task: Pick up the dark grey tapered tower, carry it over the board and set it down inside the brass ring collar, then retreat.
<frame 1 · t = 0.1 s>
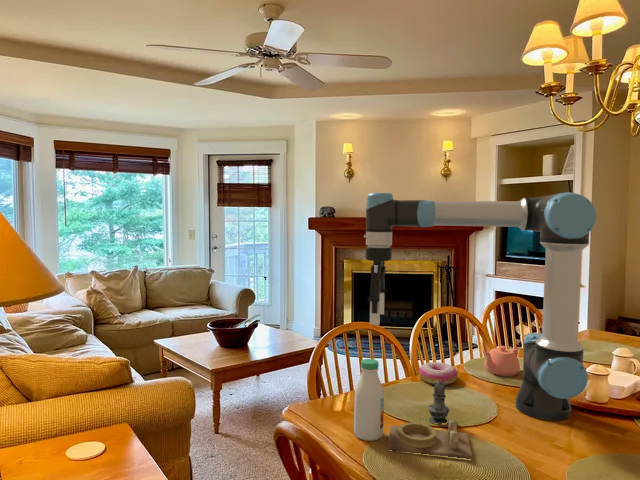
hand: (377, 319, 138), 28 cm above the table, fingers open, 13 cm apart
dark grey tapered tower: (438, 421, 135), on the table
board: (428, 444, 121), on the table
donut: (437, 380, 168), on the table
teapot: (500, 372, 176), on the table
milk bottle: (368, 435, 126), on the table
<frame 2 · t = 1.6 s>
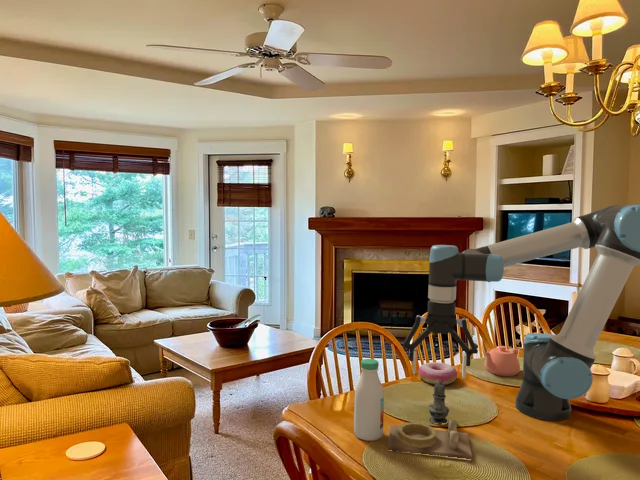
hand: (438, 374, 134), 13 cm above the table, fingers open, 13 cm apart
nothing on the table moved.
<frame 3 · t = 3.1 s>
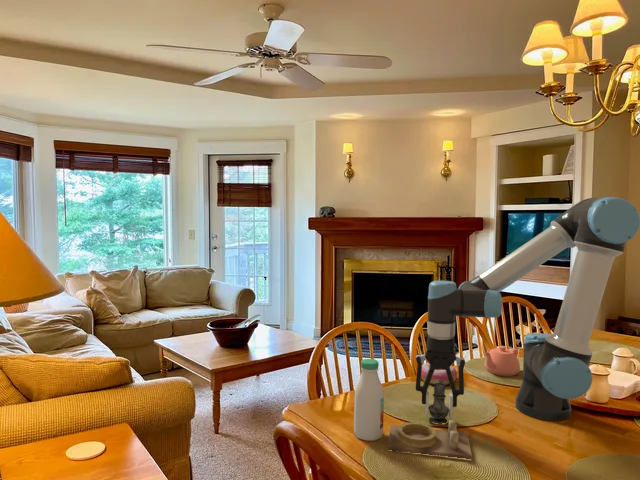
hand: (438, 416, 134), 1 cm above the table, fingers closed on dark grey tapered tower, 6 cm apart
dark grey tapered tower: (438, 421, 135), on the table, touching gripper
everything else where it was.
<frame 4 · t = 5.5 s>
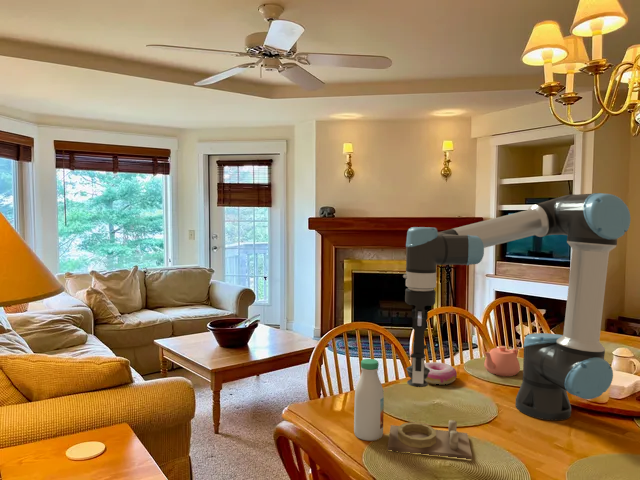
hand: (417, 378, 121), 17 cm above the table, fingers closed on dark grey tapered tower, 6 cm apart
dark grey tapered tower: (417, 384, 121), point 15 cm above the table, touching gripper
everything else where it was.
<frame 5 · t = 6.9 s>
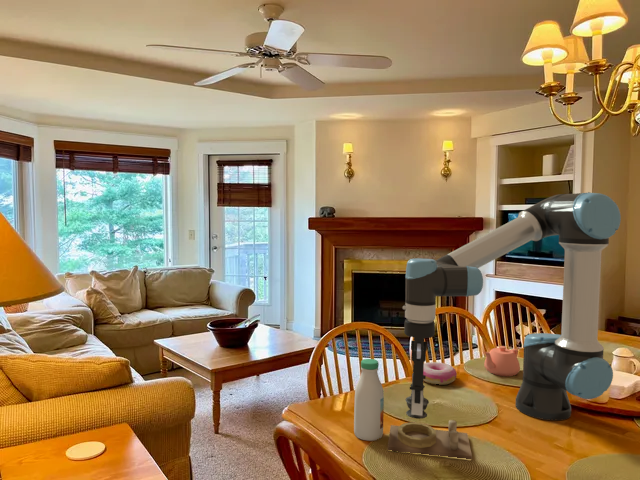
hand: (417, 408, 121), 9 cm above the table, fingers closed on dark grey tapered tower, 6 cm apart
dark grey tapered tower: (416, 414, 121), point 7 cm above the table, touching gripper
everything else where it was.
when the fingers open (5 cm above the table, at t = 8.0 s): dark grey tapered tower drops 2 cm, resting on board.
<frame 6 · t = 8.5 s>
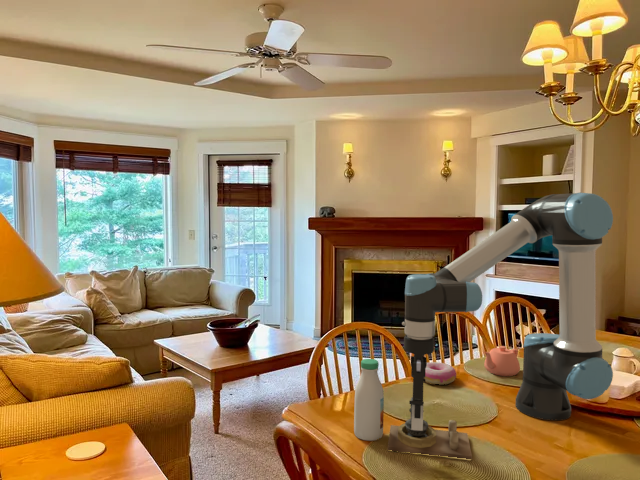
hand: (417, 417, 121), 7 cm above the table, fingers open, 13 cm apart
dark grey tapered tower: (416, 437, 122), point 1 cm above the table, touching board
everything else where it was.
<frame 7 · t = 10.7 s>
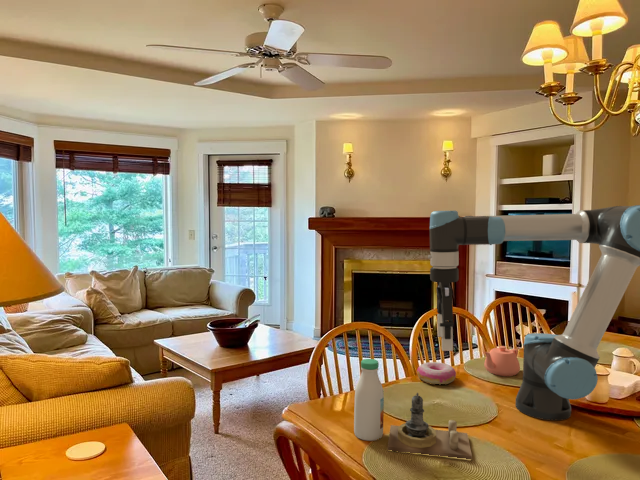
hand: (444, 343, 131), 23 cm above the table, fingers open, 13 cm apart
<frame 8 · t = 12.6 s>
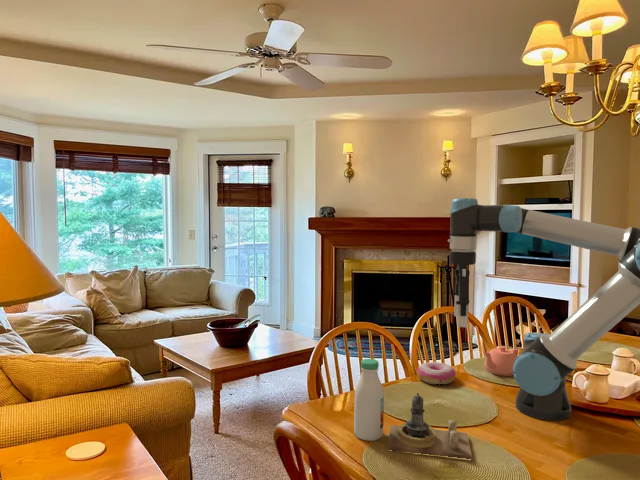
hand: (460, 321, 141), 27 cm above the table, fingers open, 13 cm apart
nothing on the table moved.
at the end: dark grey tapered tower 0.0 cm from the target spot on the board, point 1.0 cm above the board's base; dark grey tapered tower tilted 0°; the gripper is holding nothing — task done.
